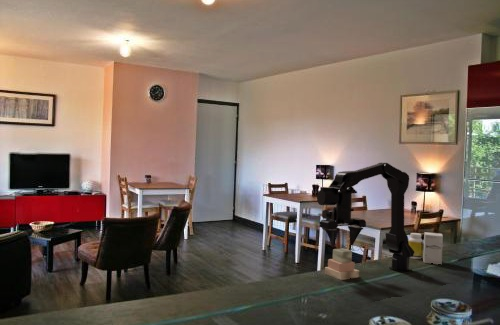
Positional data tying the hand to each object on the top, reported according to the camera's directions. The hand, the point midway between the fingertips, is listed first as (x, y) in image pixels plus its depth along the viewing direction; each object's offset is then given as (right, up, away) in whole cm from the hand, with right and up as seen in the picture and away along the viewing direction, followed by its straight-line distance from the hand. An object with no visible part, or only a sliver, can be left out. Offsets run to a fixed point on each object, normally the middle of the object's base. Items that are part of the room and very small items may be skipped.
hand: (342, 246), depth 158 cm
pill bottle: (+41, -12, +33) cm, 54 cm away
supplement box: (+45, -12, +25) cm, 53 cm away
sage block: (0, -6, 0) cm, 6 cm away
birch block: (0, -12, 0) cm, 12 cm away
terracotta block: (-1, -9, 0) cm, 9 cm away
